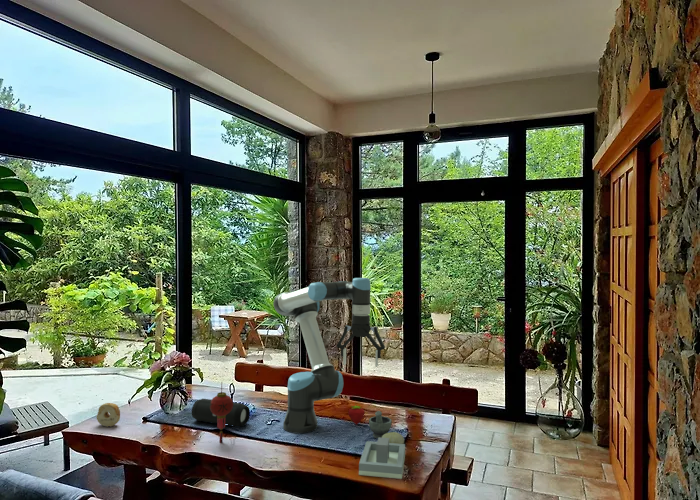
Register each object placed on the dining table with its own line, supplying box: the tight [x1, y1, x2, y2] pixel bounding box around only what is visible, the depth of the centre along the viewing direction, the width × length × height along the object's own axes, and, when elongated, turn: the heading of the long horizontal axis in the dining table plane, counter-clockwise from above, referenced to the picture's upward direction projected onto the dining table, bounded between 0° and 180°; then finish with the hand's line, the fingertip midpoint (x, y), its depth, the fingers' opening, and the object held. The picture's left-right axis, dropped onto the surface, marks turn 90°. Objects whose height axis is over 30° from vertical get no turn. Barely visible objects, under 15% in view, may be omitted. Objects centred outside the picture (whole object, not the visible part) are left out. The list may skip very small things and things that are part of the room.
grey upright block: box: [376, 437, 389, 463], centre depth 172 cm, size 4×7×7 cm, turn 170°
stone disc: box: [96, 402, 121, 427], centre depth 208 cm, size 10×4×10 cm, turn 79°
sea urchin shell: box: [382, 431, 405, 444], centre depth 189 cm, size 9×8×8 cm
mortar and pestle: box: [368, 410, 393, 439], centre depth 198 cm, size 11×9×12 cm
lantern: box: [210, 383, 233, 444], centre depth 190 cm, size 10×10×30 cm
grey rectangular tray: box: [358, 440, 406, 480], centre depth 172 cm, size 15×20×4 cm
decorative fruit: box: [348, 402, 366, 426], centre depth 212 cm, size 6×8×10 cm
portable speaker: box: [191, 398, 251, 427], centre depth 212 cm, size 26×10×10 cm, turn 71°
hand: (360, 365), depth 196 cm, fingers open, 13 cm apart
